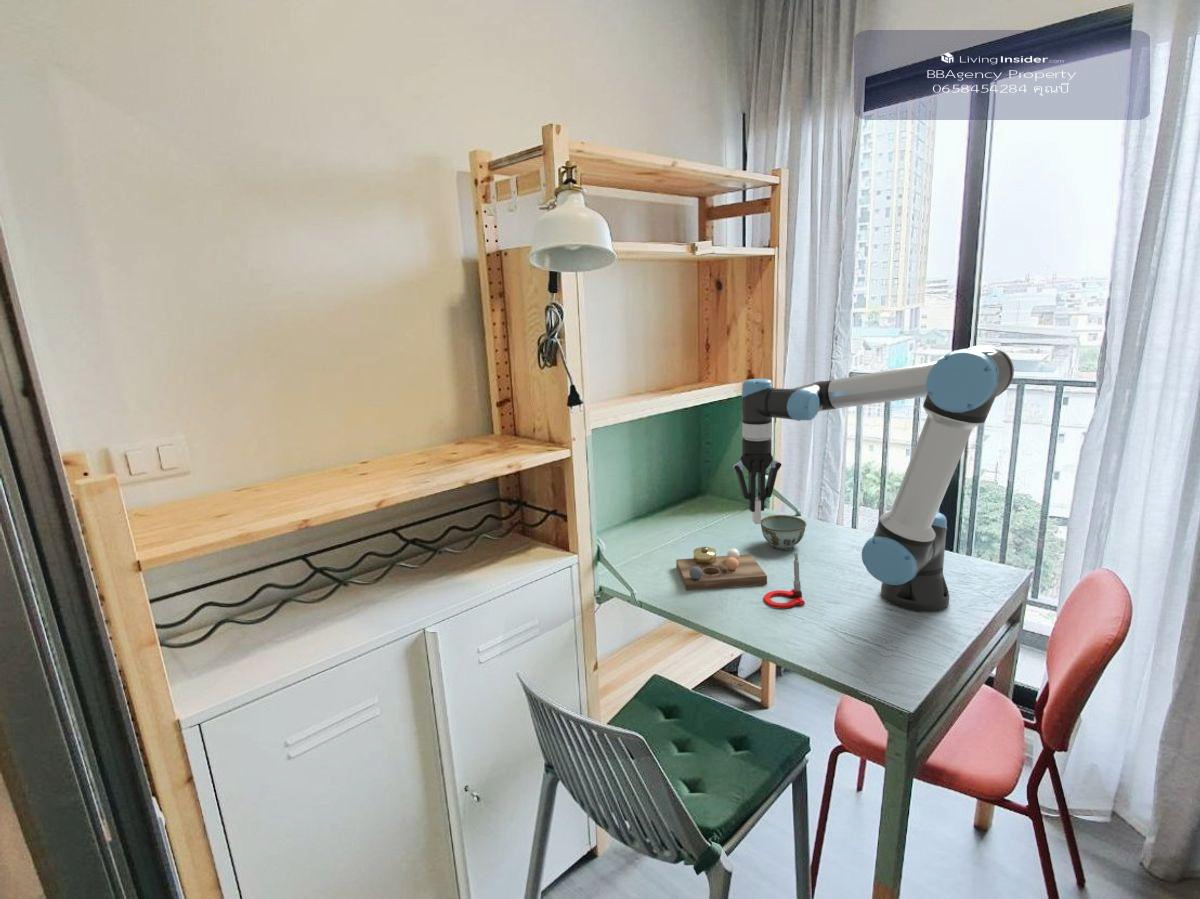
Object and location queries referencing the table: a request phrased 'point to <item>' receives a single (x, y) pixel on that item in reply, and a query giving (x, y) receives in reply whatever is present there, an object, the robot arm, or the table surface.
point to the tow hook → (793, 593)
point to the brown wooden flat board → (722, 573)
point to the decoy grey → (695, 572)
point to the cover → (705, 555)
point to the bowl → (783, 531)
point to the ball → (732, 563)
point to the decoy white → (733, 553)
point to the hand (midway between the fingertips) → (756, 522)
